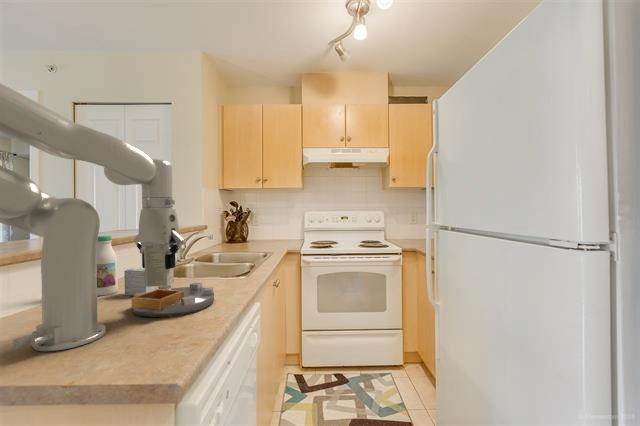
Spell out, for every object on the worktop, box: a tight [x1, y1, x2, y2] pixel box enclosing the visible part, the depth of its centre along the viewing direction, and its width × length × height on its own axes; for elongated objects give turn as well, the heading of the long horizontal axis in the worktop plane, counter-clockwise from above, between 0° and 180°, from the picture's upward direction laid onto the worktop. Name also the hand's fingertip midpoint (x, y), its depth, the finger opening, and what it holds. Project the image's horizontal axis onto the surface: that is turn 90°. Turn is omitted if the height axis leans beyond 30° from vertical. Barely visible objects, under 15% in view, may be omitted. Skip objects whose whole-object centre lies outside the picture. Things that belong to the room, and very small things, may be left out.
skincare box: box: [143, 243, 175, 287], centre depth 84 cm, size 6×4×12 cm
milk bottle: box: [96, 235, 119, 297], centre depth 104 cm, size 8×8×20 cm
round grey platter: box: [131, 282, 215, 318], centre depth 90 cm, size 22×22×5 cm
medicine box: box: [123, 267, 155, 296], centre depth 103 cm, size 8×4×9 cm, turn 84°
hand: (158, 267), depth 84 cm, fingers closed on skincare box, 7 cm apart
